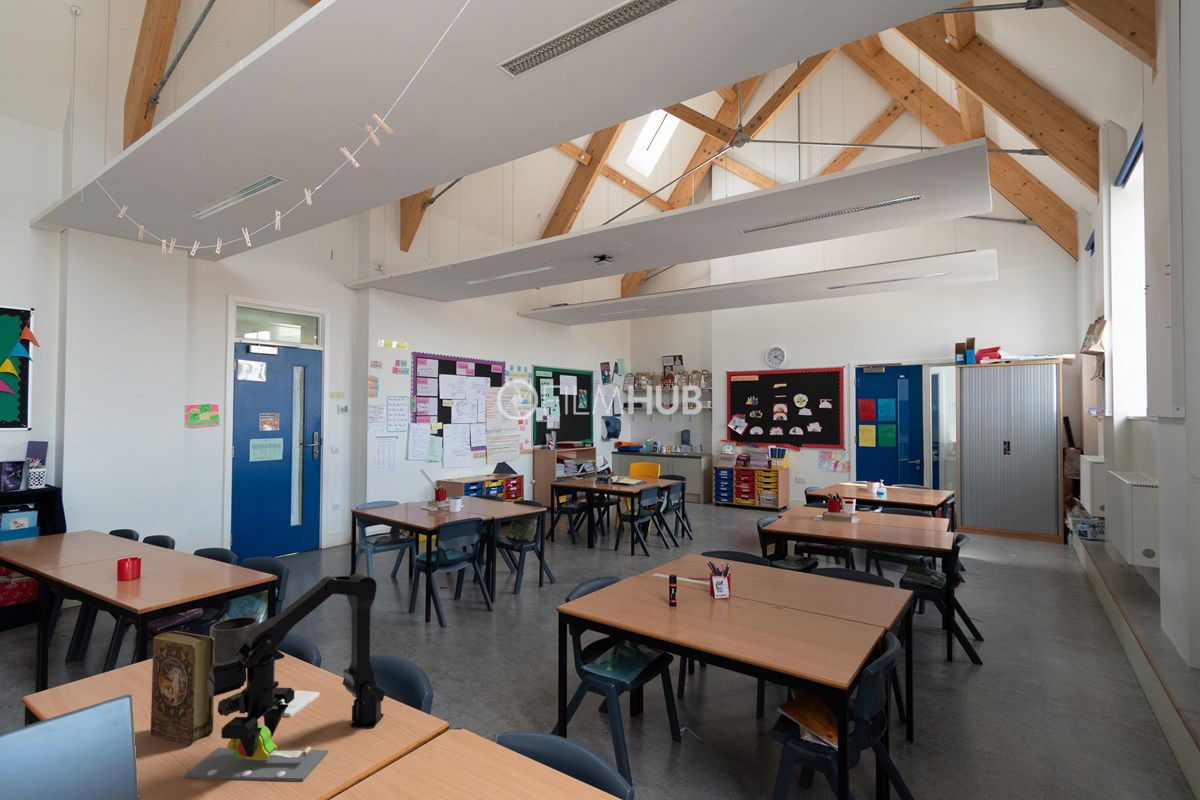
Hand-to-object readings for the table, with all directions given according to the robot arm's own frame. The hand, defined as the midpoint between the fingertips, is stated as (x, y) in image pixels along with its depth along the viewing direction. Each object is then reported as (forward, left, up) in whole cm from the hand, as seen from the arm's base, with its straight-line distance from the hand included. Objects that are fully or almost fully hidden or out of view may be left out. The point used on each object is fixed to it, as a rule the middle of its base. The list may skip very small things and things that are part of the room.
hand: (259, 748), depth 134 cm
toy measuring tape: (-2, 0, -2) cm, 3 cm away
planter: (+46, -56, -4) cm, 73 cm away
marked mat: (0, 0, -4) cm, 4 cm away
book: (+29, -12, -4) cm, 31 cm away
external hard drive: (+9, -28, -5) cm, 30 cm away
